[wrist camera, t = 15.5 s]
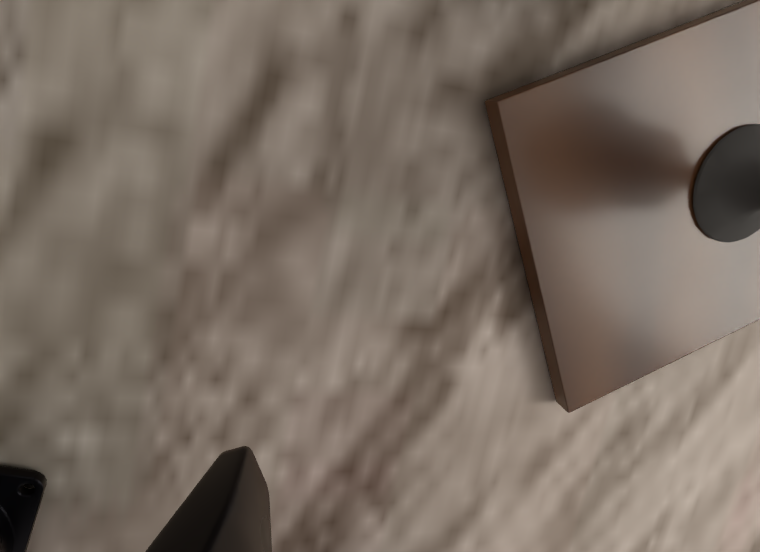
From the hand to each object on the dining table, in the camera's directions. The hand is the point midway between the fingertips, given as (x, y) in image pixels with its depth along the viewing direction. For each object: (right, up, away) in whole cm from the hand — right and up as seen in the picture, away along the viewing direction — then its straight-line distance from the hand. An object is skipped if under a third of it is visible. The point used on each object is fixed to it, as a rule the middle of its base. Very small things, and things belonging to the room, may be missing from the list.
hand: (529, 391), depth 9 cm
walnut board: (+13, +6, +15) cm, 21 cm away
